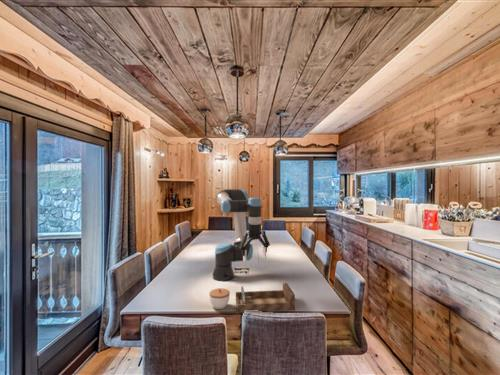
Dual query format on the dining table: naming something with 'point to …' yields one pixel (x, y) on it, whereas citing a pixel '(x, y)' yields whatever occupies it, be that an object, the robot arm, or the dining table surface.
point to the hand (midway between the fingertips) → (254, 259)
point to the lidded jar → (219, 298)
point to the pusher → (244, 296)
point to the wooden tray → (267, 300)
